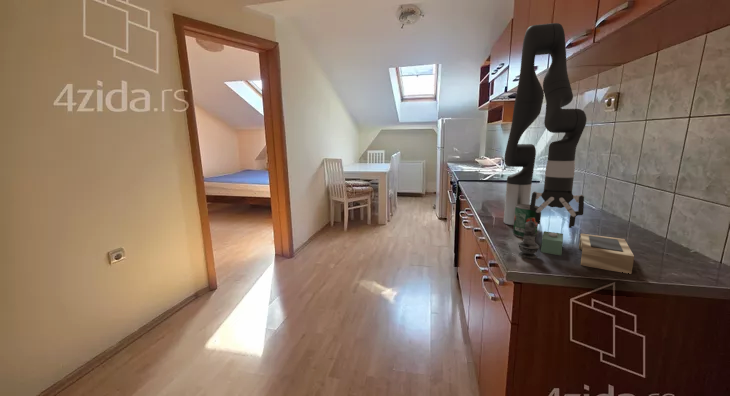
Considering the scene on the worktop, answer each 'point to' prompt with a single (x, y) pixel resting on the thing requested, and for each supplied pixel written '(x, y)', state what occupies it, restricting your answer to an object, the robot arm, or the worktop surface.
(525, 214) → the canned tomato
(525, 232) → the grey chess piece
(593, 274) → the worktop surface
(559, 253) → the housing
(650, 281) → the worktop surface
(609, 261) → the stand
